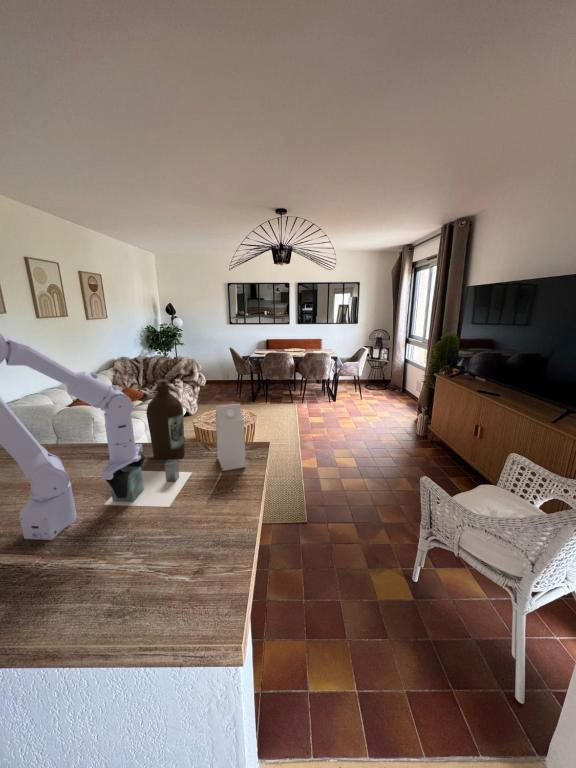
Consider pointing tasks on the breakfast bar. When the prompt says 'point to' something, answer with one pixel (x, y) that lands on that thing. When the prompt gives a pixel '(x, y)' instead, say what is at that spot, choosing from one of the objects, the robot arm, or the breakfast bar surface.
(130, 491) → the teal brushed cube
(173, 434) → the olive oil
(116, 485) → the robot arm
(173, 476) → the metal post
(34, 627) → the breakfast bar surface
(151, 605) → the breakfast bar surface
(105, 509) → the breakfast bar surface
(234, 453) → the milk carton
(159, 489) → the base board
